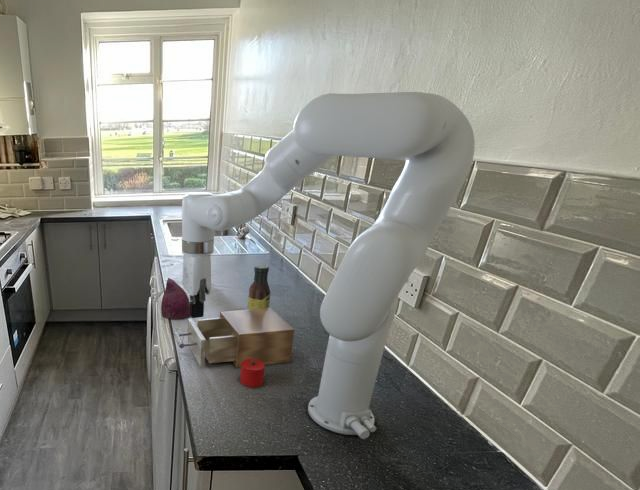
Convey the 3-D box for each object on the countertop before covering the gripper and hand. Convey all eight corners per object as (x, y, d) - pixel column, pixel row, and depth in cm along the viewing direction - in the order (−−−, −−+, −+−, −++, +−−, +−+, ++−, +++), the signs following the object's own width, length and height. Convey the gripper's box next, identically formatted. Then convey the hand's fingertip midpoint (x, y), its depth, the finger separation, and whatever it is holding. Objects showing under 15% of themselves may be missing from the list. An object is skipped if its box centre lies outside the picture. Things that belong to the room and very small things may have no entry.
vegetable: (168, 329, 134) (159, 292, 125) (158, 314, 142) (148, 278, 134) (197, 318, 135) (190, 281, 126) (185, 303, 143) (177, 267, 135)
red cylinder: (266, 386, 96) (268, 366, 94) (244, 388, 96) (246, 368, 94) (257, 374, 101) (259, 354, 99) (236, 376, 101) (238, 357, 99)
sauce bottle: (267, 332, 122) (274, 270, 113) (246, 331, 123) (252, 269, 115) (265, 323, 127) (272, 263, 119) (245, 322, 129) (250, 263, 120)
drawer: (181, 368, 103) (182, 342, 100) (170, 344, 116) (170, 320, 112) (250, 361, 105) (253, 335, 102) (232, 338, 117) (234, 314, 114)
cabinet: (236, 367, 105) (239, 334, 101) (218, 341, 118) (220, 311, 114) (290, 362, 106) (294, 329, 102) (266, 337, 119) (269, 307, 115)
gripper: (175, 240, 102) (175, 307, 110) (190, 255, 89) (190, 330, 96) (203, 238, 103) (202, 304, 111) (223, 252, 89) (220, 326, 97)
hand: (196, 316), depth 103 cm, fingers closed
